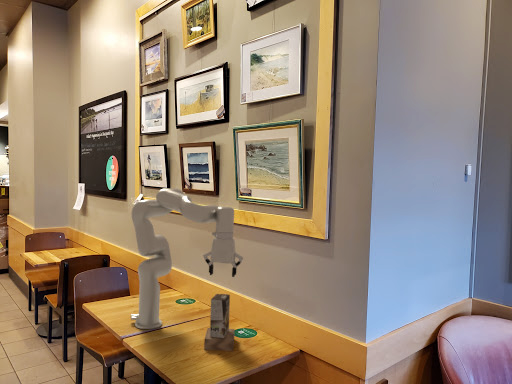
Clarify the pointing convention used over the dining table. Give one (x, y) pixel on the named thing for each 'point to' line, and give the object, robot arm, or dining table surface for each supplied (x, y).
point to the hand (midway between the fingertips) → (222, 275)
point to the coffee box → (219, 315)
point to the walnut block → (219, 341)
